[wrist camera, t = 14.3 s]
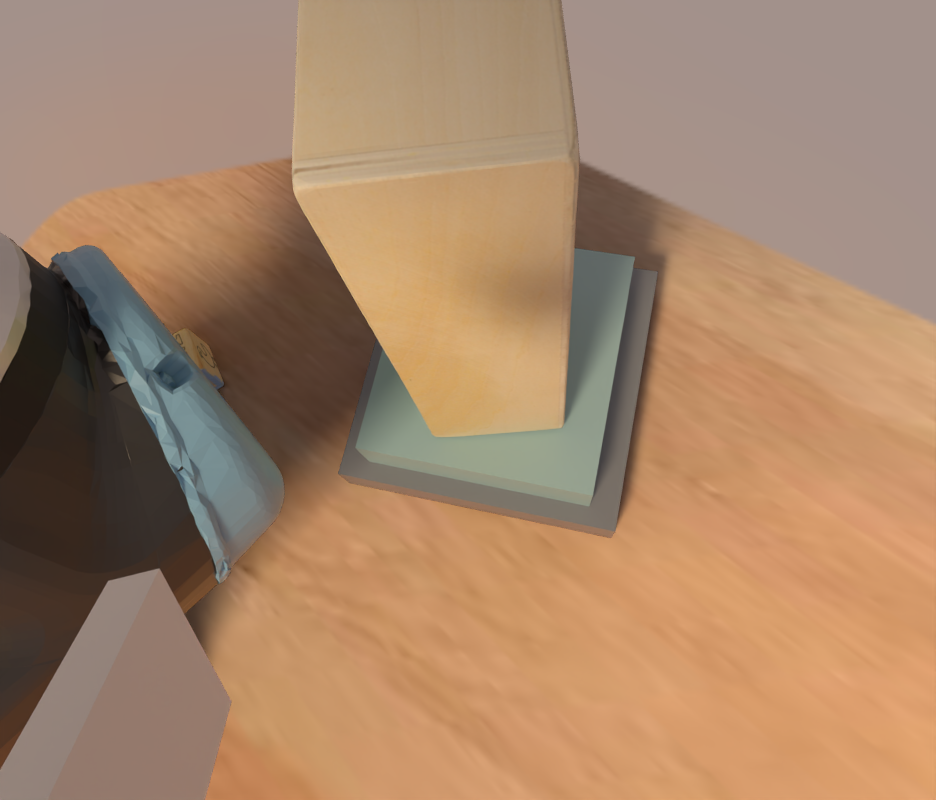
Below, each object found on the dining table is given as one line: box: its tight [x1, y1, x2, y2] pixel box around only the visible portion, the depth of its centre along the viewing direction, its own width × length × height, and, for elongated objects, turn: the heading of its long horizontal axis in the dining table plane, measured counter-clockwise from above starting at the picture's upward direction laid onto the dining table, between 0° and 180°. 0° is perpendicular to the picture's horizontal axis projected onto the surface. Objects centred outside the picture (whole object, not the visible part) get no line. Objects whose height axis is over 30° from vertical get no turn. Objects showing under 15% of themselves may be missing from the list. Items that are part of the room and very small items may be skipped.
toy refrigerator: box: [292, 0, 580, 437], centre depth 27 cm, size 8×7×21 cm
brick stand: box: [338, 248, 658, 538], centre depth 39 cm, size 15×15×6 cm
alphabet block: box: [172, 328, 224, 389], centre depth 43 cm, size 3×3×3 cm
